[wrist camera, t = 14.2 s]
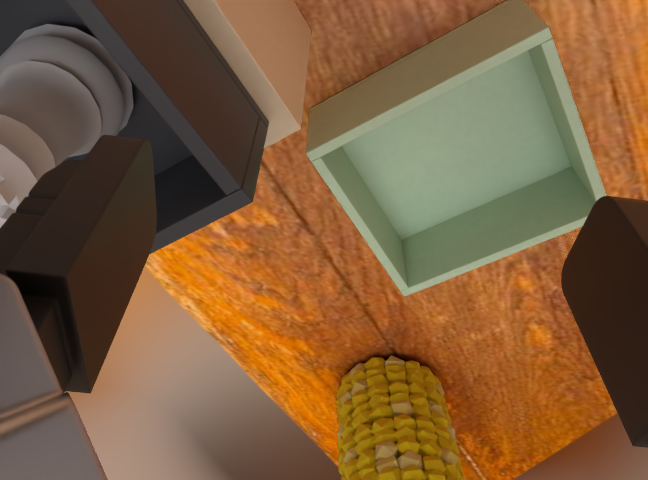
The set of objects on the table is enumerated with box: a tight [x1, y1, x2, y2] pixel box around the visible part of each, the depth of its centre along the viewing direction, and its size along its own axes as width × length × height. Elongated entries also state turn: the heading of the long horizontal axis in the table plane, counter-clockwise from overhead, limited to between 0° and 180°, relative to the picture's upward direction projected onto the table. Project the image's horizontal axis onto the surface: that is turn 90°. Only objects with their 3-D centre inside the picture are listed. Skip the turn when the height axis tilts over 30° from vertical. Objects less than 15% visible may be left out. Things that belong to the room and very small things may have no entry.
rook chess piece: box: [0, 24, 134, 228], centre depth 17 cm, size 4×4×8 cm
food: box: [336, 355, 466, 480], centre depth 45 cm, size 15×12×10 cm
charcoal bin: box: [0, 0, 269, 254], centre depth 19 cm, size 10×10×6 cm
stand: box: [184, 0, 312, 149], centre depth 26 cm, size 12×12×12 cm
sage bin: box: [306, 0, 607, 296], centre depth 33 cm, size 12×13×6 cm
